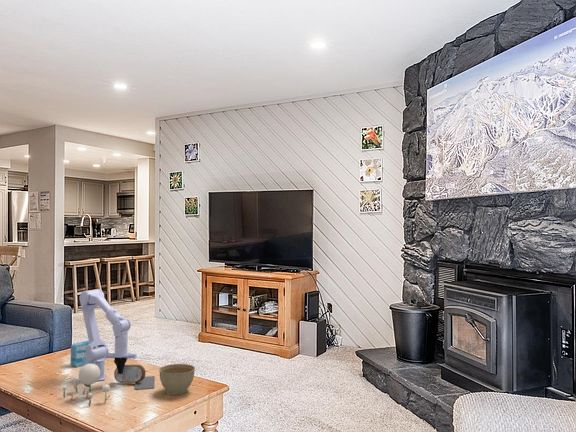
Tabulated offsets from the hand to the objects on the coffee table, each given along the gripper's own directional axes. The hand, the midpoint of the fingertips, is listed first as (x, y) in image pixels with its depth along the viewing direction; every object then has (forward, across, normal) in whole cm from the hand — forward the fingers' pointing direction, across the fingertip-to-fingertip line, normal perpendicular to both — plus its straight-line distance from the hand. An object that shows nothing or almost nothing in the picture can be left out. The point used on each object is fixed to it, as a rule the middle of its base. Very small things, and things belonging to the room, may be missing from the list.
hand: (120, 373), depth 232 cm
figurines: (+6, +8, +19) cm, 22 cm away
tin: (+5, -4, -1) cm, 6 cm away
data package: (+6, +31, -32) cm, 45 cm away
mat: (+5, -11, -3) cm, 13 cm away
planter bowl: (+6, -29, +9) cm, 31 cm away
